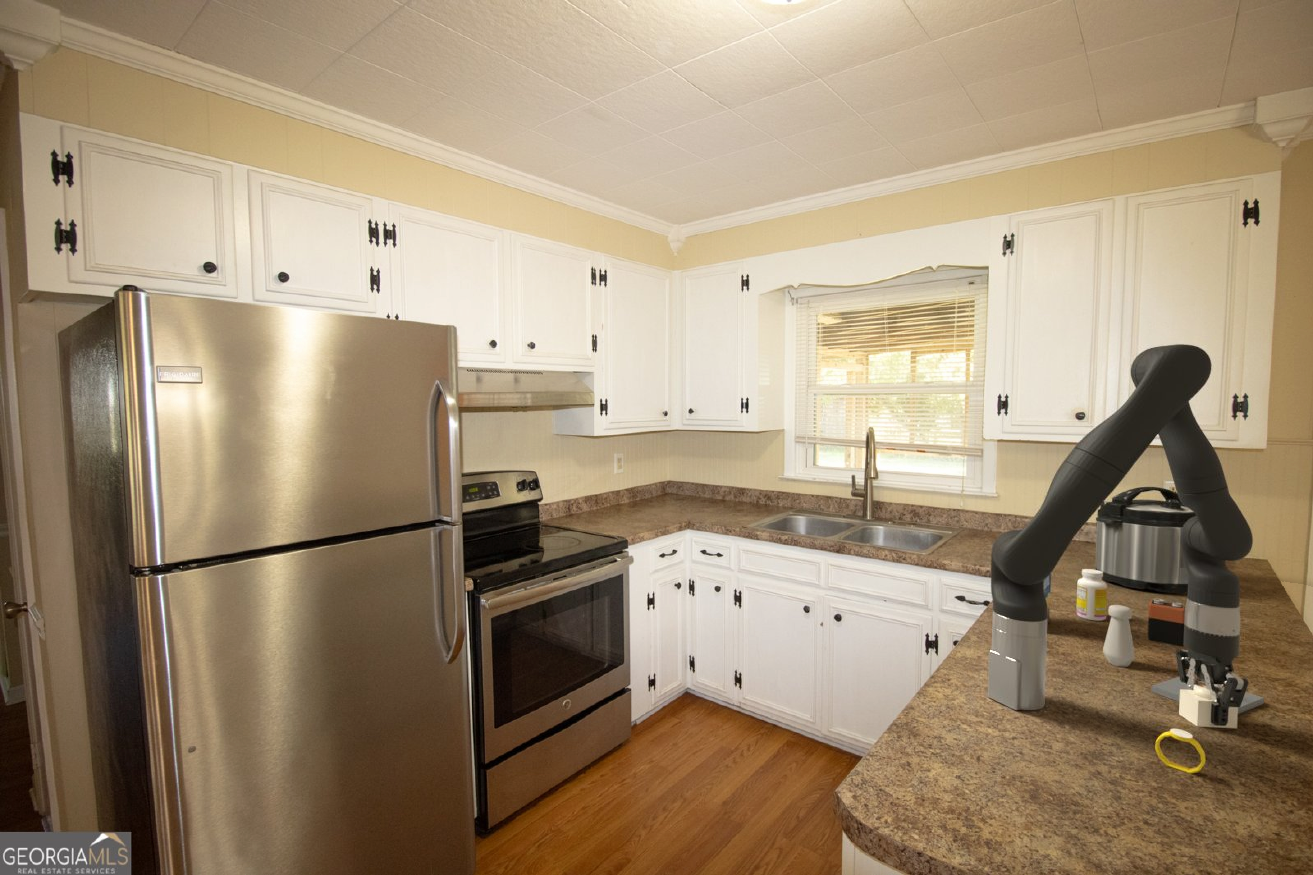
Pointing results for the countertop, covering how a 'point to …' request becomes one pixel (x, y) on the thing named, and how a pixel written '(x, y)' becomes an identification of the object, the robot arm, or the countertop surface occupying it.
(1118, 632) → the salt shaker
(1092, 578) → the supplement bottle
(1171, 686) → the plate
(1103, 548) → the pressure cooker
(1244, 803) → the countertop surface
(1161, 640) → the battery
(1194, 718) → the knob
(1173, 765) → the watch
